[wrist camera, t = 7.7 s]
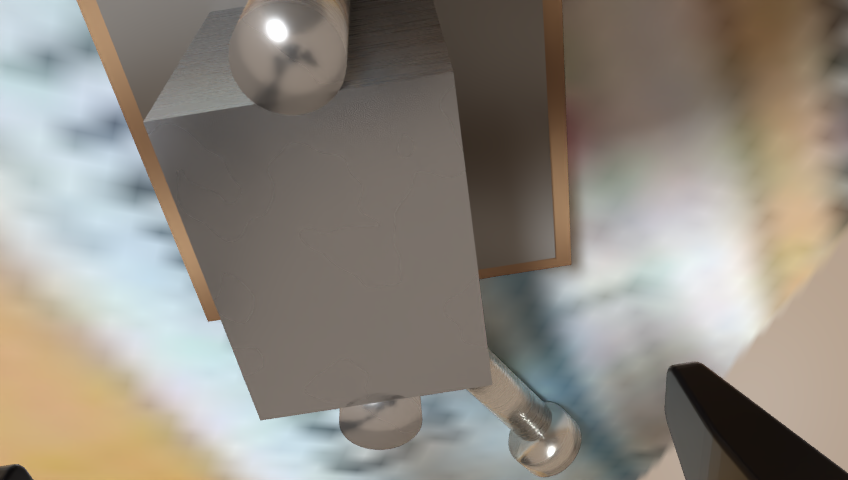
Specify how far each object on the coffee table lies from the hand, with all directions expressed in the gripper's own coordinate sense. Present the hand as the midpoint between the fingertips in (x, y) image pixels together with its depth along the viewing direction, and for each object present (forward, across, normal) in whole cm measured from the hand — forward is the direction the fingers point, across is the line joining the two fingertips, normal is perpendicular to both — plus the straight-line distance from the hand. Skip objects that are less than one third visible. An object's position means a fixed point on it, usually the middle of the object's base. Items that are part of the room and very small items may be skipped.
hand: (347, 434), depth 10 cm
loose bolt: (+13, -3, +12) cm, 18 cm away
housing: (+10, 0, 0) cm, 10 cm away
